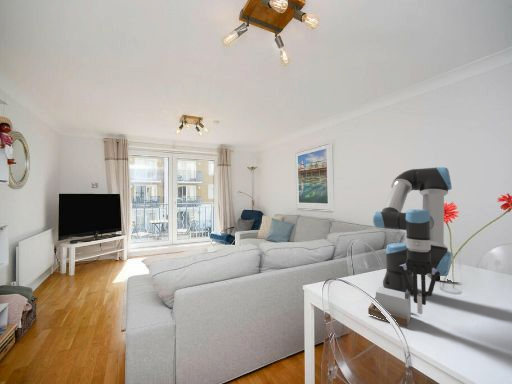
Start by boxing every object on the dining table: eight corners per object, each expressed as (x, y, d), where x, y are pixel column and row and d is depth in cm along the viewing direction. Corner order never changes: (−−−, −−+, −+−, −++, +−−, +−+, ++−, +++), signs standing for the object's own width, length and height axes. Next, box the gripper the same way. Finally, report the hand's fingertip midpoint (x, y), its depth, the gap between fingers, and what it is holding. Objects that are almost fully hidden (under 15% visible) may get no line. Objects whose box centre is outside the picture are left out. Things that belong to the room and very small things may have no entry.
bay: (375, 303, 102) (375, 296, 102) (410, 312, 94) (410, 305, 94) (368, 315, 91) (368, 308, 91) (407, 327, 83) (406, 319, 83)
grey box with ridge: (380, 307, 98) (379, 282, 98) (410, 316, 90) (410, 288, 91) (376, 314, 92) (375, 287, 93) (408, 323, 85) (407, 294, 85)
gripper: (397, 249, 88) (398, 310, 87) (440, 254, 80) (442, 322, 79) (399, 246, 94) (401, 303, 93) (440, 250, 85) (441, 313, 85)
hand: (420, 312), depth 86 cm, fingers closed
